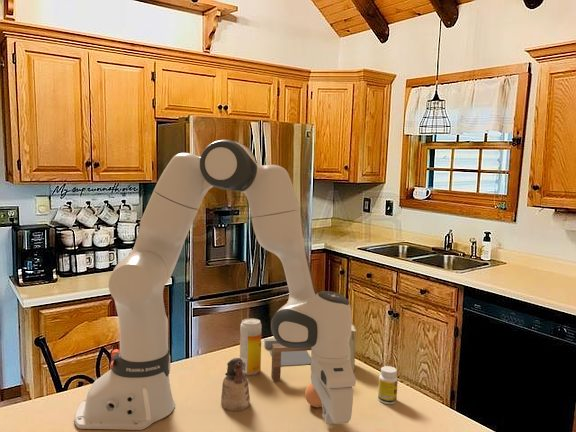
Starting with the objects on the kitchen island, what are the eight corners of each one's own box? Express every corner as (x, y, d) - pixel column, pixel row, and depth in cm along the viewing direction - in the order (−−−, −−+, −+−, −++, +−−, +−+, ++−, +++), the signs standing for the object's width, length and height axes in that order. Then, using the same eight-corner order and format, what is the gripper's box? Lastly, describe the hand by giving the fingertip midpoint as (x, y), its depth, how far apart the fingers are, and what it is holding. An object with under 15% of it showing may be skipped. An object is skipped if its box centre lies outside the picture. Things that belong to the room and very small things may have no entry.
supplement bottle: (396, 405, 119) (398, 374, 118) (377, 403, 120) (379, 372, 119) (396, 396, 124) (398, 366, 123) (378, 394, 125) (379, 364, 124)
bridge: (331, 377, 134) (333, 344, 133) (273, 381, 131) (274, 348, 129) (328, 373, 137) (330, 341, 136) (271, 376, 133) (272, 343, 132)
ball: (308, 412, 115) (308, 389, 114) (302, 400, 121) (303, 378, 120) (331, 410, 116) (332, 387, 115) (324, 399, 122) (325, 376, 121)
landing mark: (275, 366, 140) (275, 365, 140) (269, 350, 152) (269, 350, 152) (314, 364, 143) (314, 363, 143) (305, 348, 154) (305, 348, 154)
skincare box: (354, 371, 139) (356, 331, 137) (339, 371, 139) (341, 331, 137) (352, 362, 145) (353, 324, 144) (337, 362, 145) (339, 323, 144)
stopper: (265, 348, 154) (265, 341, 153) (264, 346, 156) (264, 338, 155) (306, 346, 157) (306, 339, 156) (305, 344, 159) (305, 336, 158)
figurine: (246, 395, 122) (247, 351, 121) (252, 409, 116) (253, 362, 114) (218, 399, 120) (219, 354, 119) (224, 413, 113) (224, 365, 112)
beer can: (264, 370, 138) (265, 320, 136) (252, 377, 133) (253, 326, 131) (248, 365, 141) (249, 316, 139) (235, 372, 136) (236, 322, 134)
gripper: (305, 346, 116) (303, 399, 118) (329, 384, 97) (327, 447, 98) (330, 345, 118) (328, 397, 119) (359, 382, 98) (355, 445, 99)
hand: (327, 420), depth 108 cm, fingers closed
